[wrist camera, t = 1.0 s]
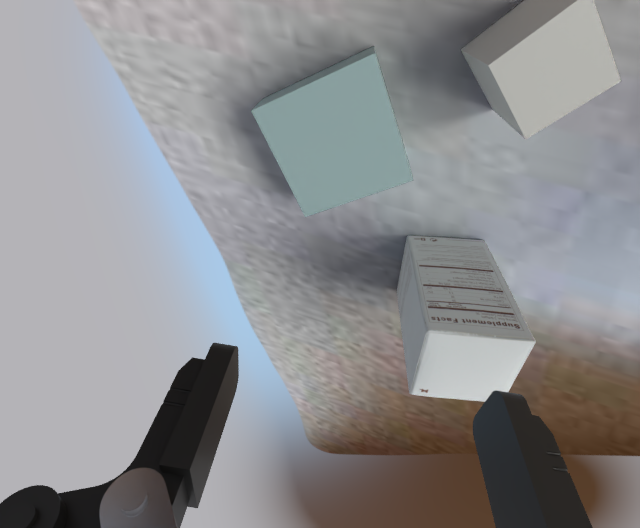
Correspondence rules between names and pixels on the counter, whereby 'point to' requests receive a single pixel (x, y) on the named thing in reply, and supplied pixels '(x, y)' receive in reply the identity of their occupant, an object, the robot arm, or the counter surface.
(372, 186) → the pedestal block
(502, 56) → the grey block
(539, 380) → the counter surface
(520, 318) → the supplement box
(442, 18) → the counter surface
